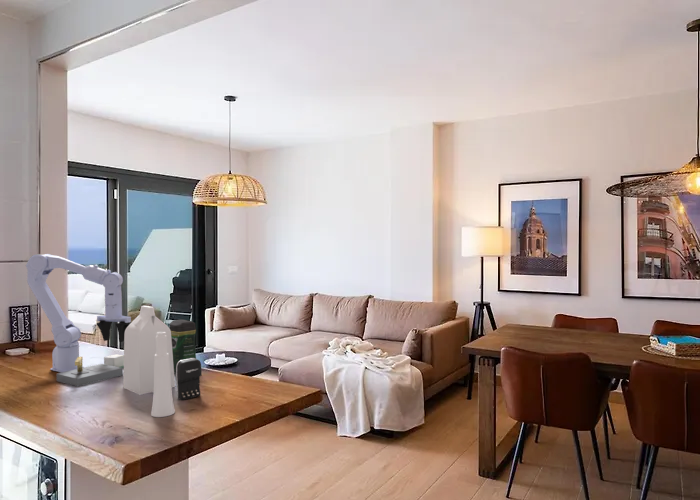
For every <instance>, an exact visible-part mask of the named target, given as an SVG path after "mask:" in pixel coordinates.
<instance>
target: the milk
mask: <svg viewBox="0 0 700 500" xmlns="http://www.w3.org/2000/svg"><path fill="white" fill-rule="evenodd" d="M169 327H170V326H168V325H167V324H166V323H164V322H163V321H162V320H161V319H159V317H157V316H156V313H155V307H153V306H151V305H150V306H149V305H141V306H140V311H139V314H138V315H137V317H135V318H134V319H133V320H131V324H130V325H129V326H128V327H127V328H126V330H125V334H124V341H123V343H124V345H123V355H124V368H123V375H122V376H123V378H122V379H123V380H122V381H123V383H122V388H123V389H125V390H128V391H129V392H133V393H134V394H137V395H138V396H139V395H140V396H141V395H146V394H150V393H153V392H154V358H155V354H156V336H157V333H158V332H166V334H165V335H166V336H167V353H168V354H169V362H170V376H171V388H175V387H176V377H175V372H174V365H173V352H172V339H171V330H170V328H169Z"/></svg>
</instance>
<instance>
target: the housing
mask: <svg viewBox="0 0 700 500" xmlns="http://www.w3.org/2000/svg"><path fill="white" fill-rule="evenodd" d="M120 376H124V368H120V367H115V366H110V365H105V364H104V363H99V364H95V365H90V366H84V368H83V372H77V369H76V370H71V371H67V372H62V373H61V372H58V373H56V382H59V383H63V384H66V385H71V386H75V387H80V386H85V385H88V384H89V385H90V384H93V383H97V382H101V381H104V380H109V379H113V378H116V377H120Z"/></svg>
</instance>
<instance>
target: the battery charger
mask: <svg viewBox="0 0 700 500" xmlns="http://www.w3.org/2000/svg"><path fill="white" fill-rule="evenodd" d="M201 377H202V363H201V360H199V359H197V357H196V358H191V359H185V360H181V361H179V362H178V363H177V364H176V373H175V385H176V398H177V400H181V401H184V400H185V401H186V400H189V399H194V398H199V397H200V396H201V388H200V387H201V386H200V384H201V383H200V382H201V381H200V379H201Z"/></svg>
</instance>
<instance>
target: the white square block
mask: <svg viewBox="0 0 700 500" xmlns="http://www.w3.org/2000/svg"><path fill="white" fill-rule="evenodd" d="M103 364H105V365H110V366H115V367H121V366H124V354H117V353H116V354H111V355H107V356H104V357H103Z"/></svg>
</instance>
